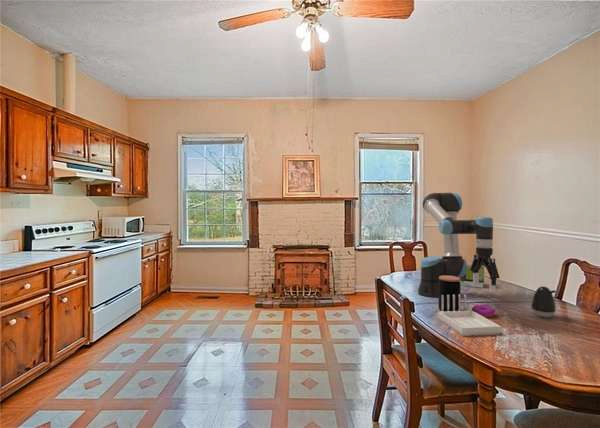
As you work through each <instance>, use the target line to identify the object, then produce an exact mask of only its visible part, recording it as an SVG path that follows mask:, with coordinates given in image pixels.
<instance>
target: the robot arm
mask: <svg viewBox="0 0 600 428" xmlns="http://www.w3.org/2000/svg"><path fill="white" fill-rule="evenodd" d="M422 208H423V210H424V212H426V213H428V214H430V215H431V216H432V218H433V219H434V220H435V221H436V222H437V223H438V231H439V233H440V234H442V235H443V238H442V239H443V250H444V252H443V253H444V254H443V255H442V256H441V257H440V256H435V255H432V256H426V257H423V258H422V259H421V261H420V283H419V285H418V287H417V294H418V293H419V295H420V296H422V295H423V297H428V298H439V280H440V279H439V276H444V275H448V276H456V277H463V276H464V275H465V273H466V270H467V263H468V262H467V261H466V259H464V258H463V255H461V253H460V248H459V247H460V245H459V244H460V243H459V235H475V236H476V237H475V238H476V239H475V246H476V248H475V254H473V260H472V263H471V264H472V266H471V269H470V270H471V271H472V272H473V285H479V273H477V272H479V269H480V268H481V266H482V265H483V266H484V268H486V271H487V272H488V275H489V279H488V280H489V287H488V290H489V291H488V292H489V293H496V290H497V289H496V286H497V279H500V275H499V272H498V268H497V264H496V259H495V258H494V257H492V258H491V256H493V251H494V249H493V248H492V247H494V240H493V239H494V238H493V237H494V221H493V217H491V216H478V217H476V219H457V216H458V215H459V213H460V211H461V210H462V208H463V201H462V198H461V196H460V194H459V193H457V192H432V193H429V194H428V195H426V196H425V197H424V198H423V200H422Z"/></svg>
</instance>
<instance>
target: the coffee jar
mask: <svg viewBox="0 0 600 428" xmlns="http://www.w3.org/2000/svg"><path fill="white" fill-rule="evenodd" d="M439 279H440V280H439V297H438V309H439V311H440V310H441V305H442V295H444V311H447V295H449V311H453V295H455V311H458V307H459V294H460V295H461V285H460V282H459V281H460V279H461V278H459V277H456V276H448V275H444V276H439Z"/></svg>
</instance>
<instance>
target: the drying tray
mask: <svg viewBox="0 0 600 428" xmlns="http://www.w3.org/2000/svg"><path fill="white" fill-rule="evenodd" d="M437 319H438V320H439V319H440V320H441V322H442V321H443V322H444V323H443V322H442V323H443V324H445V325H446V324H447V325H448V326H447V325H446V326H447V327H448V328H450V327H451V329H452V330H453V331H454V330H455V331H454V332H456V333H457V332H458V333H457V334H459V335H460V336H461V335H462V337H465V336H467V337H470V336H471V335H474V336H495V335H502V326H501V325H499V324H497V323H495V322H493V321H492V320H490V319H488V318H485V317H483V316H481V315H479V314H477V313H476V312H474V311H472V310H466V311H464V310H461V311H444V312H441V311H437ZM440 320H439V321H440Z"/></svg>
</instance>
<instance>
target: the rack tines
mask: <svg viewBox="0 0 600 428" xmlns="http://www.w3.org/2000/svg"><path fill="white" fill-rule="evenodd" d="M461 297H462V295H461V293H460V294H459V307H458V311H462V309H461V307H462V304H461V303H462V301H461V300H462V298H461ZM463 298H464V299H463V300H464V301H463V311H467V294H466V293H465V294H464V296H463ZM447 311H449V295H447ZM453 311H455V295H453ZM440 312H444V295H442V305H441V311H440Z"/></svg>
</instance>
